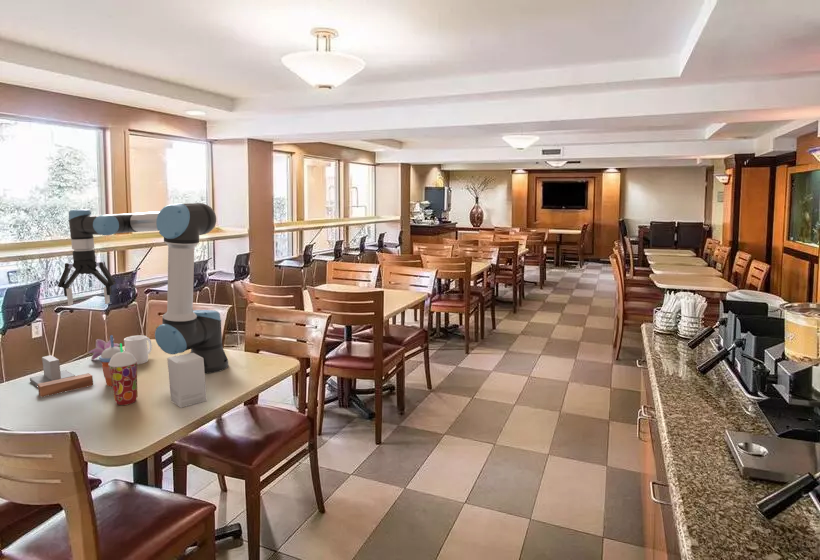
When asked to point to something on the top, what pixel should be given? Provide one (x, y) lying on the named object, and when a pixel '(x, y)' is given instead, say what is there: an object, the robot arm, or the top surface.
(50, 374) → the ridge stand
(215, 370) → the robot arm
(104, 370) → the cup with straw
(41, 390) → the batten
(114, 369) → the smoothie
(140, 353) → the cup
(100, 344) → the lily
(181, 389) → the supplement box
